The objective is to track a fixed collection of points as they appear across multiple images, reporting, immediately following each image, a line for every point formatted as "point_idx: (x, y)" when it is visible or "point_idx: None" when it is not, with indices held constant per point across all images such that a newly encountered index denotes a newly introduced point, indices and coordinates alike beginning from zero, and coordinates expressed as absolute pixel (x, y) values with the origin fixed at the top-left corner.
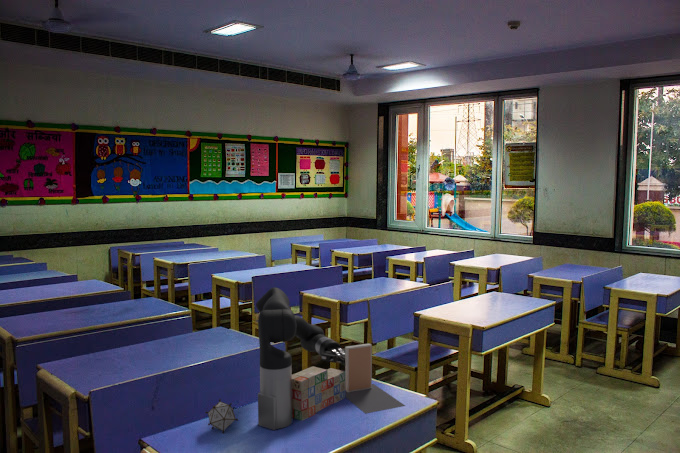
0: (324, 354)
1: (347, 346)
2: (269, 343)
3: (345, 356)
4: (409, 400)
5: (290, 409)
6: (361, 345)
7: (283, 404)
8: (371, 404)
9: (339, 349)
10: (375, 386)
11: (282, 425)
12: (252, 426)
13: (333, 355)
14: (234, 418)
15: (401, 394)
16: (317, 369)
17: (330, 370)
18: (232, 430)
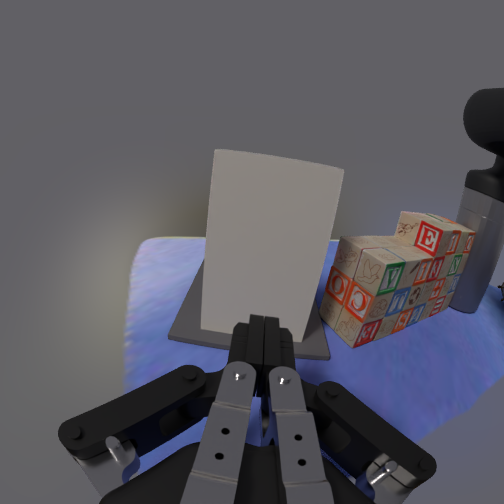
0: (415, 445)
1: (333, 167)
2: (498, 156)
3: (334, 213)
4: (176, 255)
5: None
6: (265, 155)
7: None
8: None
9: (221, 480)
10: (182, 318)
11: None
12: (480, 302)
13: (344, 400)
14: (502, 285)
15: (161, 272)
16: (426, 219)
17: (387, 255)
18: (497, 303)
